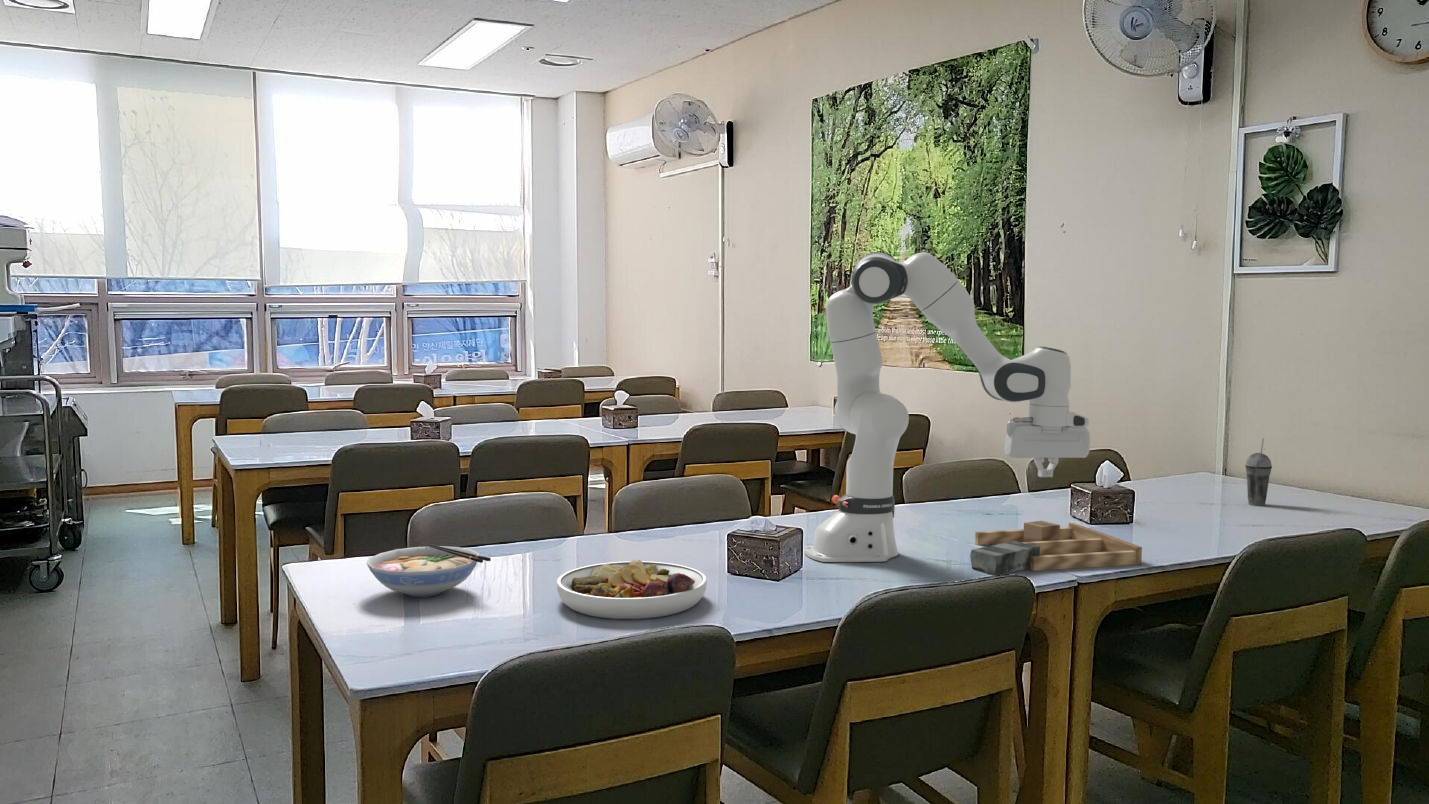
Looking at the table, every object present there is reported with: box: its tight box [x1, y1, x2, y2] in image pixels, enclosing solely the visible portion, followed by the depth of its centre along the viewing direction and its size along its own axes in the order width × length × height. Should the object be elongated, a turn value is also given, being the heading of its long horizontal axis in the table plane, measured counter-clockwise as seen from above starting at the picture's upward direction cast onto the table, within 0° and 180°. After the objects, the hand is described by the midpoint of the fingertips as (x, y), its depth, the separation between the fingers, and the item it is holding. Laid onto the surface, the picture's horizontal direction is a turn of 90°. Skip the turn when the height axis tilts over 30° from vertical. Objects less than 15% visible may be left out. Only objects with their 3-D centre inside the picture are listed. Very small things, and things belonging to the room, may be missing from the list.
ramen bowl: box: [366, 541, 491, 598], centre depth 226 cm, size 25×23×8 cm
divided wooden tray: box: [974, 522, 1143, 572], centre depth 262 cm, size 28×28×4 cm
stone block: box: [969, 541, 1041, 576], centre depth 248 cm, size 9×14×5 cm, turn 122°
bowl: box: [556, 559, 708, 620], centre depth 220 cm, size 30×30×8 cm
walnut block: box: [1023, 520, 1061, 542], centre depth 269 cm, size 6×6×6 cm
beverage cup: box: [1244, 438, 1273, 507], centre depth 326 cm, size 7×7×20 cm
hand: (1045, 476), depth 252 cm, fingers closed
